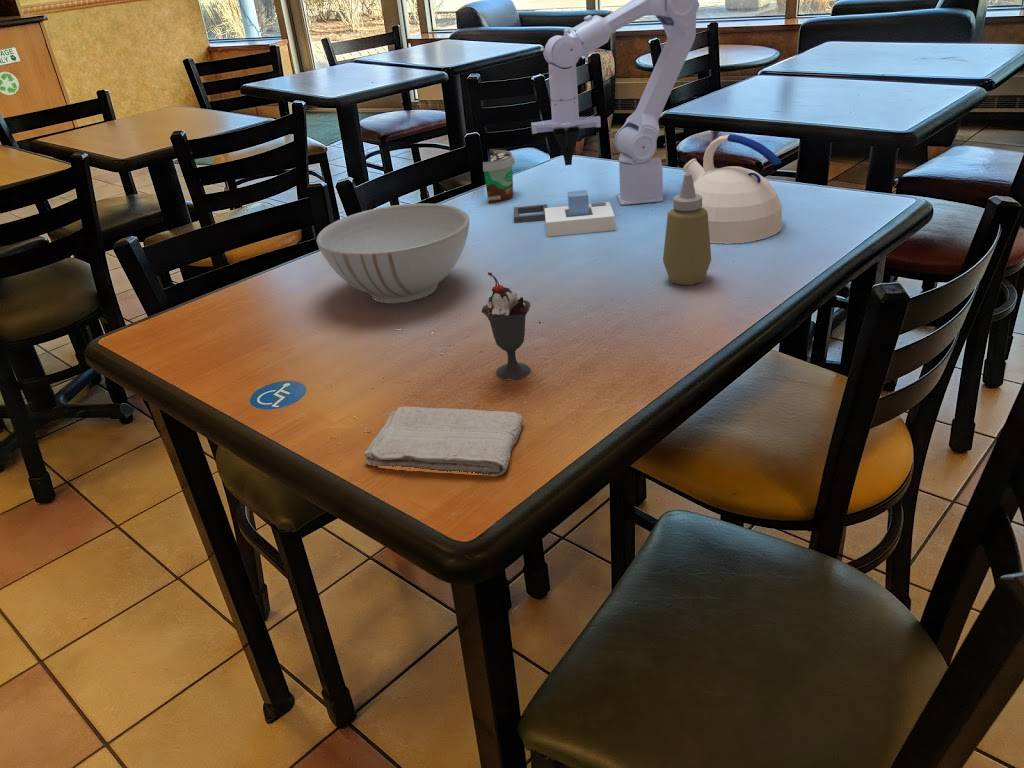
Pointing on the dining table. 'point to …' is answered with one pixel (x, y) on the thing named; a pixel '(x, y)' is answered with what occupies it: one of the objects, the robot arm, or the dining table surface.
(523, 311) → the sundae
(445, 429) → the washcloth
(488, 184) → the food container
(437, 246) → the decorative bowl
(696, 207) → the squeeze bottle
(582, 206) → the plug
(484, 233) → the dining table surface
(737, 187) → the kettle
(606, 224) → the panel
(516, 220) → the dark square tray
